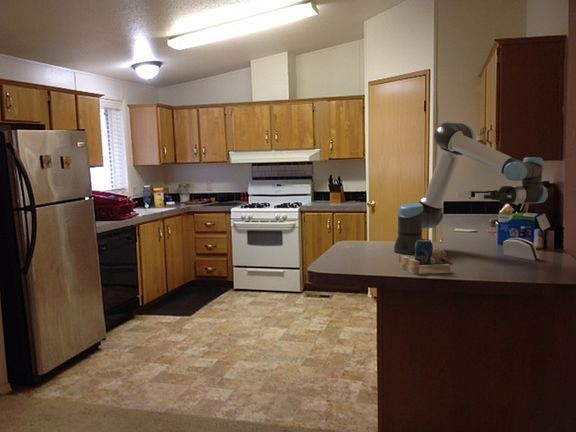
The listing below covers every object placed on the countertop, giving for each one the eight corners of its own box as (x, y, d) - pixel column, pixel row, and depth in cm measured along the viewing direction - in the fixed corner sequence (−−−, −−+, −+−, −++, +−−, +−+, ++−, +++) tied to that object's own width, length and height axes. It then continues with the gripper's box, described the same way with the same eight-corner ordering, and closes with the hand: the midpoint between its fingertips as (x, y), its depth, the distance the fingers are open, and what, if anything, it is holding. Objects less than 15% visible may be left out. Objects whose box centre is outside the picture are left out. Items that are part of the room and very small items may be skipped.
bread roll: (431, 271, 217) (437, 256, 213) (417, 258, 224) (423, 243, 221) (448, 269, 221) (455, 254, 217) (433, 256, 229) (439, 241, 225)
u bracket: (398, 267, 209) (398, 255, 208) (432, 265, 212) (432, 253, 212) (414, 274, 195) (414, 261, 195) (450, 272, 199) (450, 260, 198)
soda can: (412, 269, 204) (412, 240, 203) (417, 266, 210) (418, 238, 208) (429, 271, 200) (430, 242, 199) (434, 268, 206) (434, 239, 205)
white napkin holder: (541, 259, 225) (537, 239, 223) (534, 263, 223) (529, 243, 221) (511, 253, 240) (507, 234, 238) (504, 257, 239) (500, 238, 236)
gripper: (531, 206, 198) (484, 207, 193) (492, 201, 222) (449, 202, 217) (532, 187, 197) (484, 188, 192) (493, 184, 221) (449, 185, 216)
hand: (465, 195), depth 205 cm, fingers open, 13 cm apart
